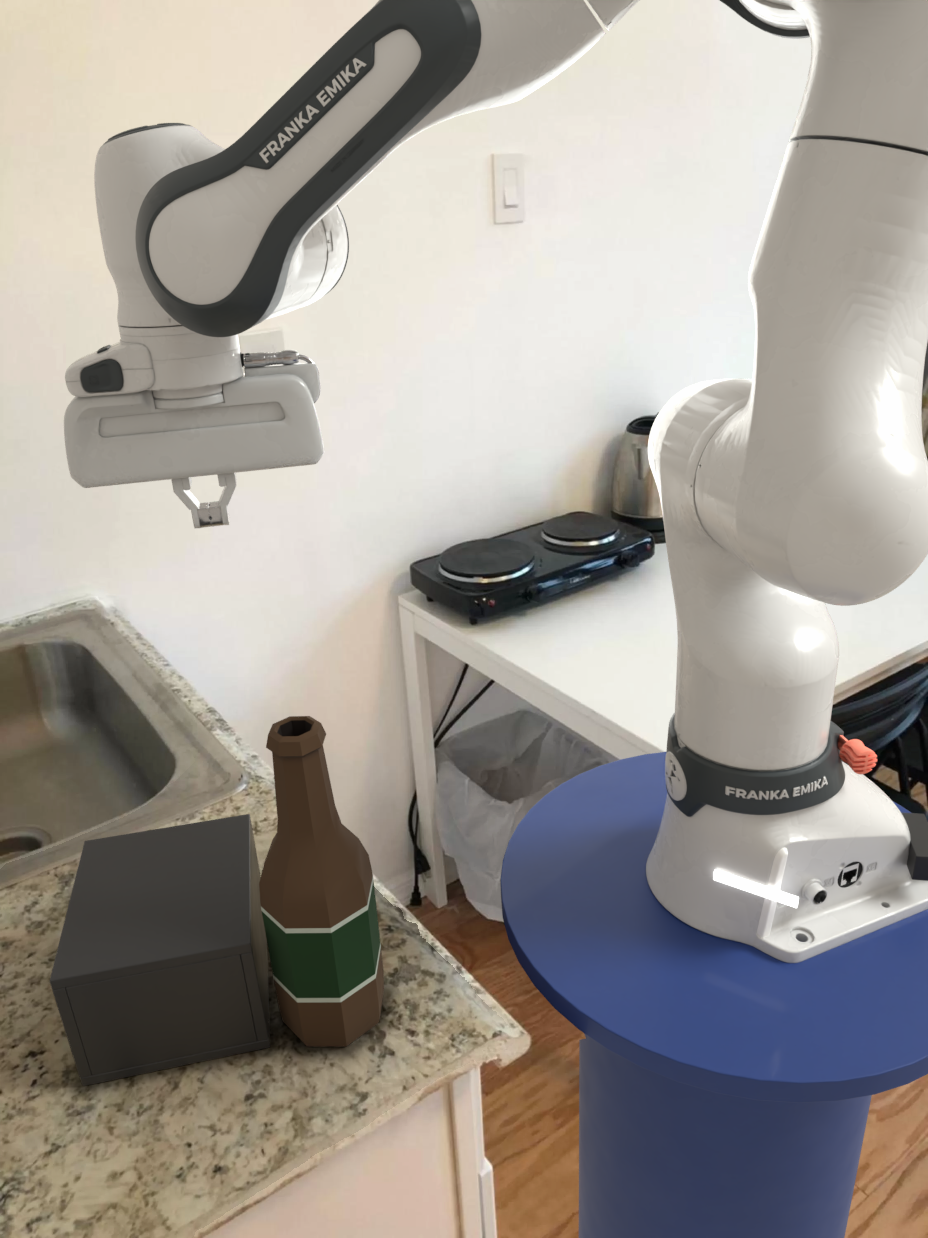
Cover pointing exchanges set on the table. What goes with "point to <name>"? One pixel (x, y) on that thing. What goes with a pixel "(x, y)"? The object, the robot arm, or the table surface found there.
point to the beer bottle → (318, 900)
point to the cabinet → (164, 951)
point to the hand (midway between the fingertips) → (212, 524)
